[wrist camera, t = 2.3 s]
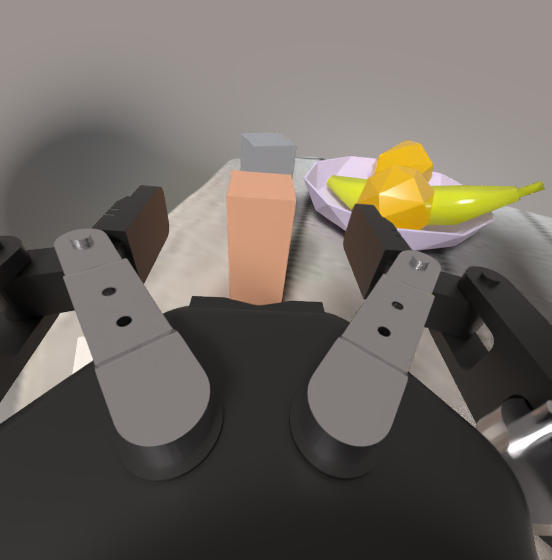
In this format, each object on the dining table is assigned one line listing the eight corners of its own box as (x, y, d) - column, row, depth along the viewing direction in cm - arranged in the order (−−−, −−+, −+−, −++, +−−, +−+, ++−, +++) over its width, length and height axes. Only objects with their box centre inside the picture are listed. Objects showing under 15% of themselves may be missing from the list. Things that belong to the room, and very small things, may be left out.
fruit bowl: (267, 204, 45) (272, 128, 38) (372, 179, 58) (392, 119, 51) (412, 314, 29) (471, 219, 22) (513, 246, 42) (573, 172, 35)
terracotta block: (278, 279, 31) (291, 174, 24) (280, 311, 28) (296, 200, 20) (234, 277, 31) (232, 170, 23) (230, 309, 27) (226, 196, 19)
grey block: (272, 219, 42) (279, 132, 34) (285, 237, 38) (296, 145, 30) (240, 223, 40) (240, 133, 32) (251, 242, 37) (254, 146, 29)
